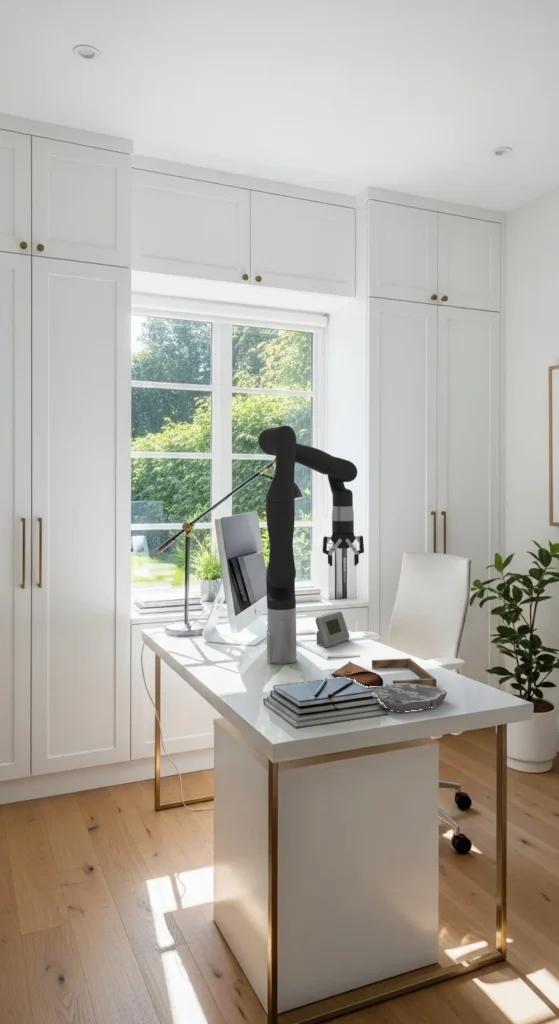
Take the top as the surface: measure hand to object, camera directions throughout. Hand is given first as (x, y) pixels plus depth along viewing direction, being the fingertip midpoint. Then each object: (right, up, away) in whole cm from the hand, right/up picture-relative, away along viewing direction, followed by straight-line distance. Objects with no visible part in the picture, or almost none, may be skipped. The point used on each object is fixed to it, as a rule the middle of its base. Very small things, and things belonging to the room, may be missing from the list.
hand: (343, 565), depth 248 cm
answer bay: (+14, -30, -41) cm, 52 cm away
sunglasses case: (-1, -31, -43) cm, 53 cm away
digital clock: (-3, -28, +5) cm, 29 cm away
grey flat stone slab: (+10, -31, -64) cm, 72 cm away
